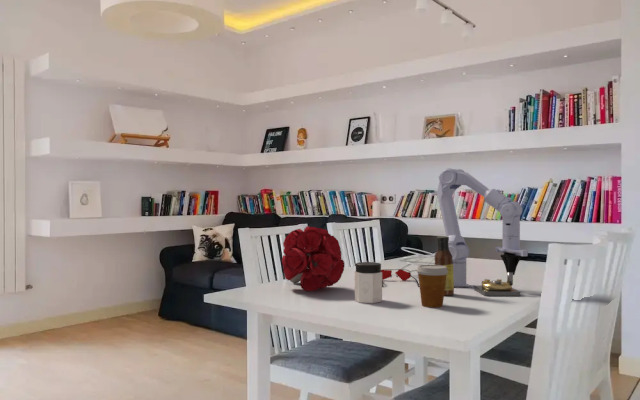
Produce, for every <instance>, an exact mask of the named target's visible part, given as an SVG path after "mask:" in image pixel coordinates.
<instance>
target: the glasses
mask: <svg viewBox="0 0 640 400" xmlns="http://www.w3.org/2000/svg"><path fill="white" fill-rule="evenodd" d="M392 271H395V272H394V274H396V278H398V277H399V278H400V280H402V281H407V280H409V279H410V278H413V280H414V281H416V284H417V287H418V288H420V286H419V280H418V279H417V278H415V277H414V276H413V275H412V273H411V271H410V270H408V269H405V268H404V269H401V268H399V269H398V268H397V269H391V268H389V269H387V268H386V269H385V268H384V269H381V272H382V288H384V280H385V279H389V278H392V277H393V275H392V274H393V273H392Z"/></svg>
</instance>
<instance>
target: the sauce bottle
mask: <svg viewBox="0 0 640 400" xmlns="http://www.w3.org/2000/svg"><path fill="white" fill-rule="evenodd" d="M448 241H449V237H448V236H446V235H445V236H436V243H437V250H436V252H435V254H434V265H442V266H446V267H447V271H448V272H447V275H446V283H445V291H444V297H445V296H446V297H447V296H452V295H454V294H455V287H454V276H453V260H452V255H451V253H450V251H449V245H448Z"/></svg>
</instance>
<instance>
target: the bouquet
mask: <svg viewBox="0 0 640 400" xmlns="http://www.w3.org/2000/svg"><path fill="white" fill-rule="evenodd" d="M283 248H284V249H283V255H282V257H281V264H282V269H283V274H284V278H285V280H286V281H290V282H291V283H292V284H297V283H299V282H300V283H299V285H300V288H301V289H302V290H304V291H306V292H307V291H309V292H312V291H313V292H315V291H317V290H319V289H325V288H327V287H332V286H334V285H335V284H337V283H338V282H339V281H340V279H342V275H343V273H344V271H345V260H343V258H342V249H341V248H342V247H341V246H340V243H339V240H338V239H337V238H336V237H335V236H334V235H331V233H329V231H328V230H327V228H326V229H324V228H320V227H315V226H309V225H306V226H305V227H304V229H303V230H302V229H301V228H297V229H294V230H292V231H291V232H289V233H288V234H287V235H286V237H285V238H284V241H283Z"/></svg>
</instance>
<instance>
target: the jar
mask: <svg viewBox="0 0 640 400" xmlns="http://www.w3.org/2000/svg"><path fill="white" fill-rule="evenodd" d="M381 270H382V264H381V262H380V263H379V262H377V261H376V262H375V261H374V262H373V261H361V262H356V263H355V271H354V300H355V302H358V303H359V304H360V303H361V304H377V303H382V302H383V287H382V272H381Z"/></svg>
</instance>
